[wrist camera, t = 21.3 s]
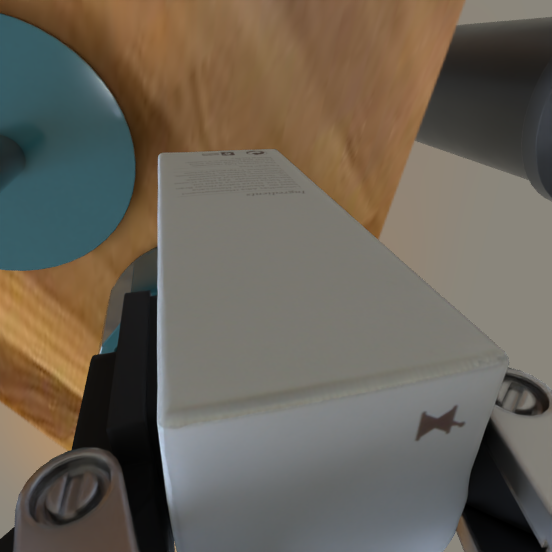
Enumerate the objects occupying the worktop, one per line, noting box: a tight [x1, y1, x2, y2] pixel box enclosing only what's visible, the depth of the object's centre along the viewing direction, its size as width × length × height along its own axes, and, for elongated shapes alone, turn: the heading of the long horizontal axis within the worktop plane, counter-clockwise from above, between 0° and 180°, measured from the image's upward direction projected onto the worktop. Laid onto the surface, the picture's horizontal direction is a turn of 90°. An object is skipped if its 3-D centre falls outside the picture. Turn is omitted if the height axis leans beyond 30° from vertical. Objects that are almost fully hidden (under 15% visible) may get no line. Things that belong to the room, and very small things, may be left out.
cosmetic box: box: [157, 149, 509, 552], centre depth 11 cm, size 6×4×12 cm
